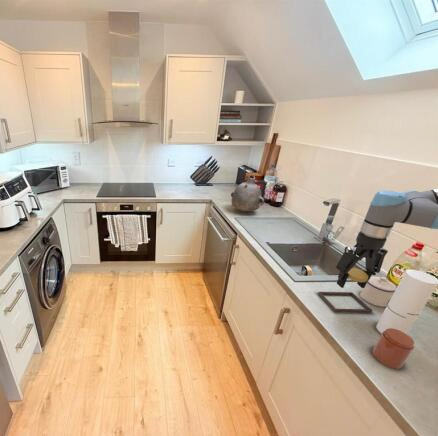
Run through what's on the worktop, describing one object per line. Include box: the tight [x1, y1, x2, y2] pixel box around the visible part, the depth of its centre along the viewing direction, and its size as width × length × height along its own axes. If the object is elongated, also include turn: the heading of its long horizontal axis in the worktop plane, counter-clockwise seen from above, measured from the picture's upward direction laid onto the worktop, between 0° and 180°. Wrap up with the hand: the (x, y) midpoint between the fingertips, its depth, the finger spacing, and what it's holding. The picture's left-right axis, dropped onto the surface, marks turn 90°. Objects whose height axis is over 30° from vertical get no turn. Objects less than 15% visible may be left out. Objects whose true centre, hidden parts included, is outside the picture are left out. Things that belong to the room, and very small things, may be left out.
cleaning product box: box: [242, 179, 268, 203], centre depth 205 cm, size 16×9×20 cm, turn 88°
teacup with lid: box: [359, 275, 397, 308], centre depth 97 cm, size 12×9×12 cm
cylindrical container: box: [375, 269, 438, 335], centre depth 78 cm, size 7×7×25 cm
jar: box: [372, 328, 415, 370], centre depth 72 cm, size 7×7×10 cm
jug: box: [230, 174, 265, 213], centre depth 184 cm, size 24×21×30 cm
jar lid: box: [347, 266, 368, 282], centre depth 90 cm, size 7×7×2 cm
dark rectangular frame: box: [317, 291, 373, 314], centre depth 96 cm, size 14×10×2 cm
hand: (350, 285), depth 93 cm, fingers closed on jar lid, 7 cm apart
